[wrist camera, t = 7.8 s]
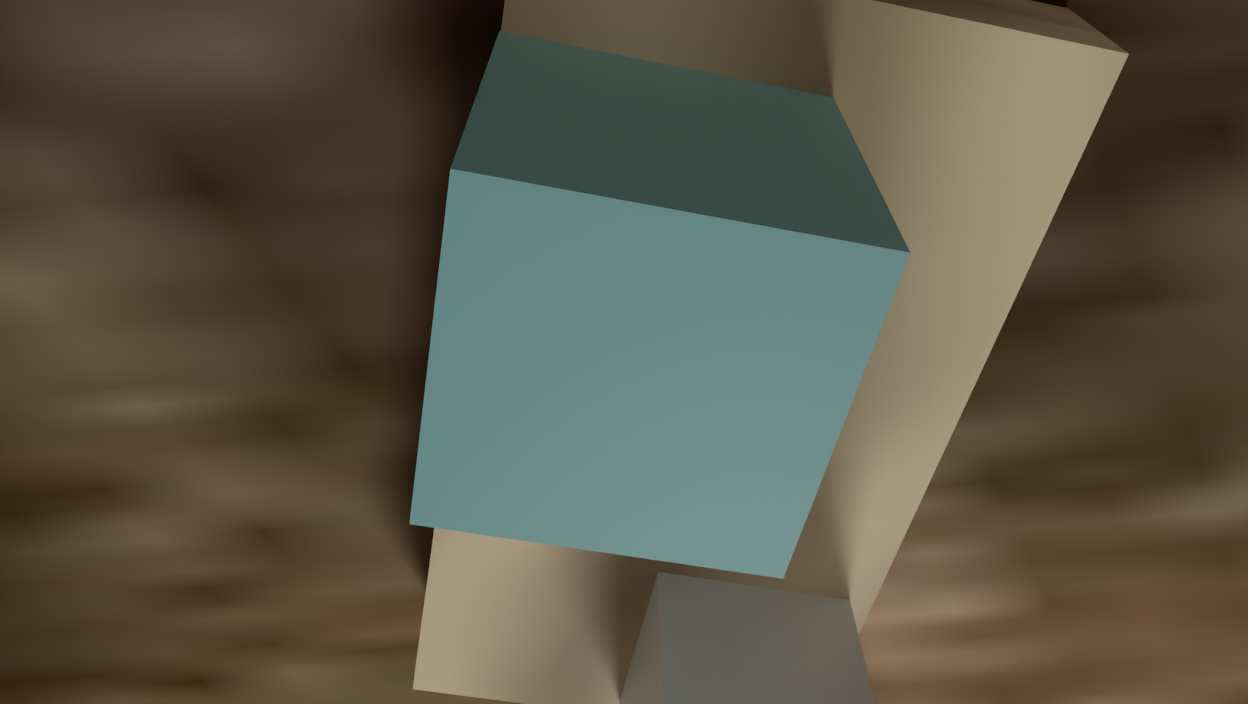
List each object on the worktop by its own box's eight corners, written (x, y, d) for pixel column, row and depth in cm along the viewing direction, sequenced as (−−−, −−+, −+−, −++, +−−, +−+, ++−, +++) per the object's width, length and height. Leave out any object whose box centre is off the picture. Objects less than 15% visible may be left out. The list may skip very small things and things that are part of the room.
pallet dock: (430, 603, 25) (412, 689, 23) (529, -107, 16) (515, -75, 14) (794, 654, 26) (809, 740, 24) (1067, 7, 17) (1128, 54, 15)
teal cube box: (460, 322, 18) (409, 523, 13) (499, 31, 15) (450, 169, 11) (746, 370, 18) (783, 578, 14) (833, 96, 15) (910, 252, 11)
